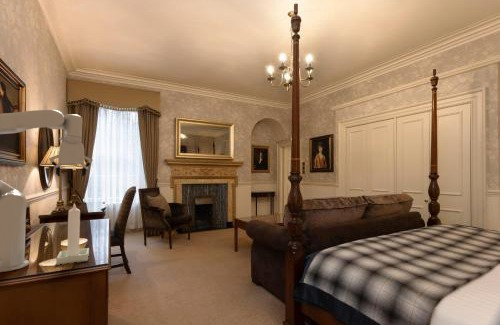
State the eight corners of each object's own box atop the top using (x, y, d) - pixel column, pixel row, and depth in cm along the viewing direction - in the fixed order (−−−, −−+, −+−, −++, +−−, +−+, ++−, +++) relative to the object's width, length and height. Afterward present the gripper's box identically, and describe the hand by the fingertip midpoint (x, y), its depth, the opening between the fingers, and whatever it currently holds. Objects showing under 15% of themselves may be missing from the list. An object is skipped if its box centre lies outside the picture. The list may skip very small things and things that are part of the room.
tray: (87, 261, 120) (87, 254, 120) (56, 265, 115) (56, 258, 115) (88, 254, 131) (89, 247, 131) (60, 257, 125) (60, 251, 125)
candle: (60, 259, 121) (61, 203, 122) (76, 254, 127) (77, 202, 128) (69, 261, 118) (70, 204, 119) (85, 257, 124) (86, 203, 125)
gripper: (48, 138, 120) (47, 176, 120) (93, 141, 129) (92, 176, 128) (51, 140, 127) (49, 176, 126) (93, 142, 135) (92, 176, 135)
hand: (71, 176), depth 127 cm, fingers open, 9 cm apart
